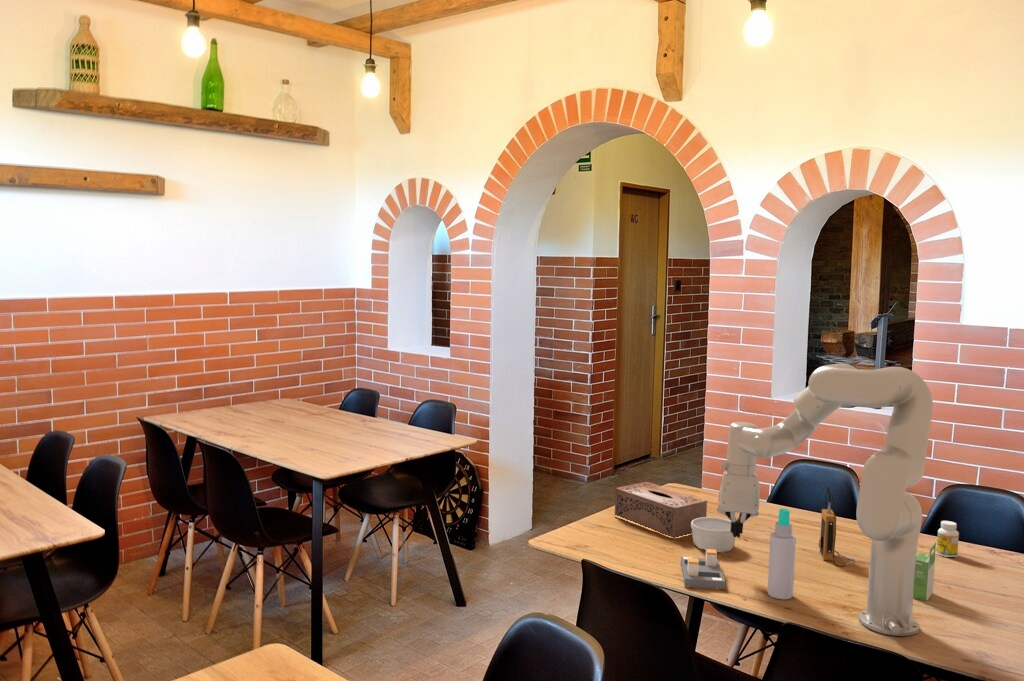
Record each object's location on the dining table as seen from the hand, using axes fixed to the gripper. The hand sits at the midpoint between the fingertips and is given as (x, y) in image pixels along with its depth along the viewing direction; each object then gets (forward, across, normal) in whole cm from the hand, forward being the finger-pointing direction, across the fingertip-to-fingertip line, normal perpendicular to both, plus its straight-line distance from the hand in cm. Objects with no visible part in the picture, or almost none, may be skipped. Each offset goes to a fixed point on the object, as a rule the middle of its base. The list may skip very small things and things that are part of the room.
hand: (736, 535), depth 219 cm
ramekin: (+11, -3, +20) cm, 23 cm away
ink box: (+10, +46, -7) cm, 47 cm away
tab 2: (+10, -6, -1) cm, 12 cm away
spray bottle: (+10, +10, -14) cm, 20 cm away
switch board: (+10, -9, -5) cm, 14 cm away
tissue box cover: (+12, -18, +38) cm, 44 cm away
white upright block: (+10, -12, -9) cm, 18 cm away
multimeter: (+10, +32, +17) cm, 38 cm away
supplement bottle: (+10, +64, +26) cm, 70 cm away
